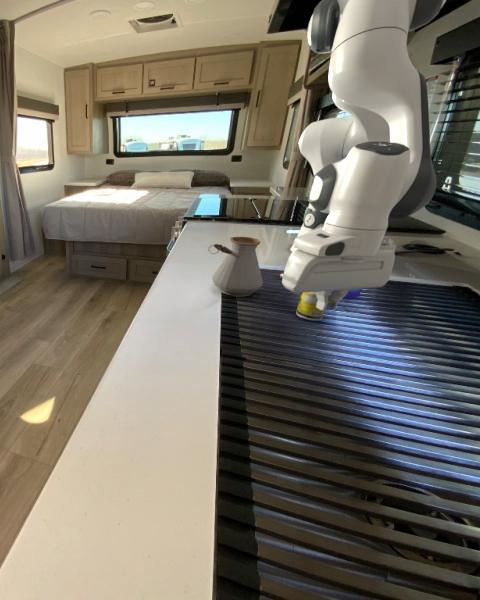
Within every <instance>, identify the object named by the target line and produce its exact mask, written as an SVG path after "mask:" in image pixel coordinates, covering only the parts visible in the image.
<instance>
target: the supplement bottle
mask: <svg viewBox="0 0 480 600" xmlns="http://www.w3.org/2000/svg"><path fill="white" fill-rule="evenodd" d="M330 295H331V294H330ZM330 295H327V296H328V298H329V296H330ZM317 302H318V298H317V295H316V292H306V293H300V297H299V301H298V304H297V308H296V312H295V313H296V315H297V317H299V318H301V319H303V320H304V319H305V320H308V321H315V322H316V321H321V320H323V317H324V315H325V311H326V310H320V309H318V308H317V307H316V305H317Z"/></svg>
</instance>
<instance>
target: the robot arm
mask: <svg viewBox="0 0 480 600" xmlns="http://www.w3.org/2000/svg"><path fill="white" fill-rule="evenodd" d="M446 2H447V0H321V1H319V2H318V4H317V5H316V6H315V7H314V9H313V13H312V15H311V17H310V20H309V22H308V26H307V40H308V45H309V46H310V50H311V51H312V52H314V53H315V54H330V60H329V66H328V86H329V88H330V91H331V92H332V101H333V103H334V105H335V106H336V107H337V108H338V109H339V110H342V111H344V112H346V113H348V114H349V115H350V116H349V117H332V118H331V117H330V118H326V119H321V120H316V121H312V122H311V123H309V124H308V125H307V126H306V127H305V129H304V130H303V131H302V133H301V135H300V137H299V140H298V149H299V152H300V154H301V155H302V156H303V157H304V158H305V159H306V160H307V162H308V163H309V165H310V166H311V169H312V173H313V178H312V181H311V184H310V187H309V192H308V196H307V201H308V202H309V204H308V206H307V207H306V209H305V212H304V215H303V223H302V225H301V227H300V229H299V230H287V231H286V233H287V234H297V237H295V239H294V241H293V244H292V246H291V247H290V252H291V254H290V255H289V257H288V259H287V261H286V265H285V268H284V271H283V273H282V274H283V278H281V283H282V285H283V287H284V288H285V289H286V290H288V291H290V292H292V293H295V294H302V293H306V292H316V295H317V298H318V302H317V305H316V307H317V308H318V309H320V310H325V311H329V310H336V309H337V307H338V305H339V303H340V302H341V301H342V300H343V298H344V297H345V296H346V295H347V293H348V290H349V289H361V288H363V289H372V288H373V289H375V288H382V287H384V286H385V285H386V284H387V283H388V282H389V280H390V278H391V275H392V272H393V269H394V268H393V267H394V263H395V259H396V255H401V254H403V255H404V254H413V253H433V252H441V251H440V250H443V251H442V252H451V253H453V254H455V255H456V256H462V253H460V251H458V252H452V251H454V250H456V249H454V248H451V247H450V248H449V247H438V248H439V249H440V250H417V249H409V250H397V251H396V248H397V245H396V244H395V243H396V242H394V241H393V239H391V238H384V237H385V234H386V232H387V229H388V227H389V219H392V220H402V219H405V218H407V217H410V216H412V215H413V214H415V213H417V212H418V211H421V209H423V208H424V207H425V206H427V205H428V204H429V203H430V201H431V200H432V199H433V197H434V195H435V193H436V189H437V175H436V171H435V167H434V164H433V161H432V155H431V153H432V152H431V137H430V136H431V135H430V134H431V132H430V130H431V129H430V111H429V110H430V109H429V95H428V93H429V92H428V85H427V80H426V77H425V75H424V74H423V73H421V72H420V71H419V70H417V68H415V66H414V65H413V62H412V60H411V57H410V55H409V52H408V46H407V45H408V36H409V32H412V31H415V30H417V29H419V28H422V27H423V26H425V25H427V24H429V23H430V22H431V21H432V20H434V19H435V18H436V16H437V15H439V13H440V12H441V9H442V8H443V7H444V5H445V3H446ZM332 291H334V292H333V293H332V294H331V292H332ZM327 295H330V297H329V298H328V296H327Z"/></svg>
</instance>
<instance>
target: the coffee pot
mask: <svg viewBox="0 0 480 600" xmlns="http://www.w3.org/2000/svg"><path fill="white" fill-rule="evenodd" d="M229 241H230V242H231V248H228V247H226V246H224V245H222V244H220V243H219V244H218V243H214V244H211V245H210V246H209V247H208V252H209V253H210V254H212V255H216V254H219V252H221V253H224V254H226V255H225V256H224V258H223V259H222V260H221V262H220V264H219V265H218V266H217V268H216V269H215V271H214V272H213V273H212V276H211V280H212V283H213V284H214V286H215V287H216V288H217V290H218V291H219V292H221V293H222V294H225V295H228V296H231V297H237V298H238V297H241V298H242V297H243V298H245V297H248V296H251V295H252V294H254V293H256V292H257V291H259V290H261V288H262V287H263V286H264V282H263V277H262V273H261V268H260V264H259V260H258V256H257V252H256V249H257V248H258V246H259V245H260V244H261V240H259V239H257V238H255V237H250V236H232V237H230V238H229ZM211 247H213V248H215V249H216V250H217V252H215V253H214V252H211V251H210V248H211Z"/></svg>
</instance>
